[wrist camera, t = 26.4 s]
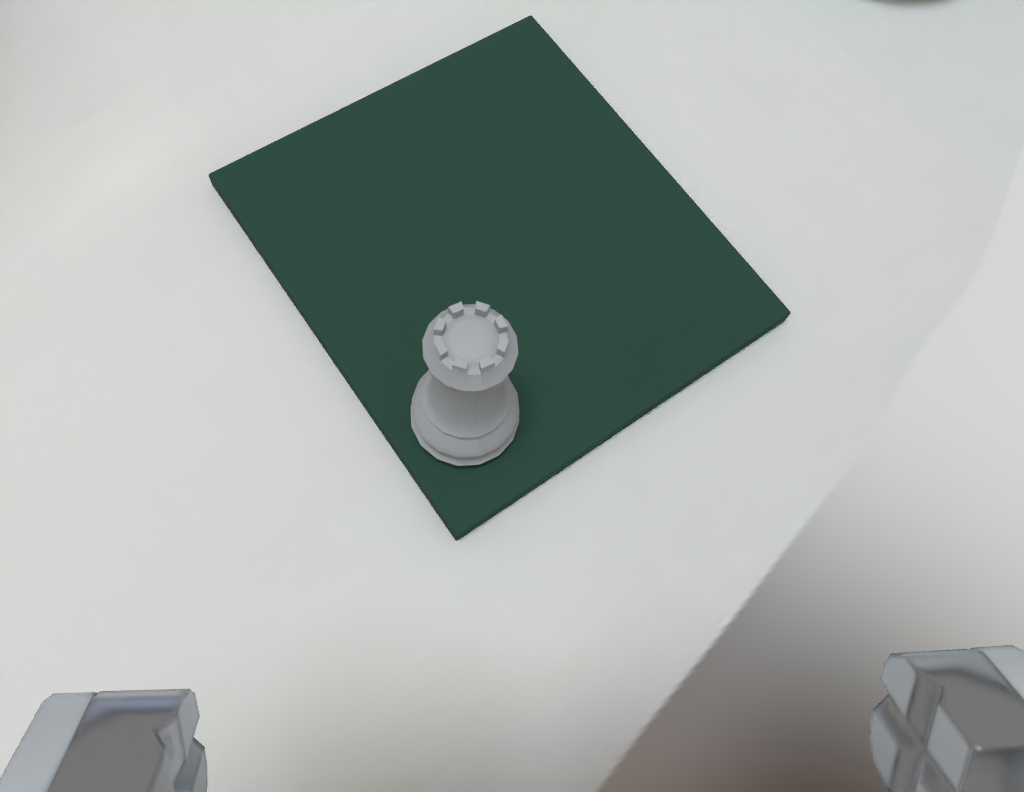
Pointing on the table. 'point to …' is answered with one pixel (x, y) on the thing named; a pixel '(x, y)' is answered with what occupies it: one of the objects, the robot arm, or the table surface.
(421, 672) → the table surface
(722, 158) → the table surface
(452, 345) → the rook chess piece
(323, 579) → the table surface
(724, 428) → the table surface
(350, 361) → the mat
